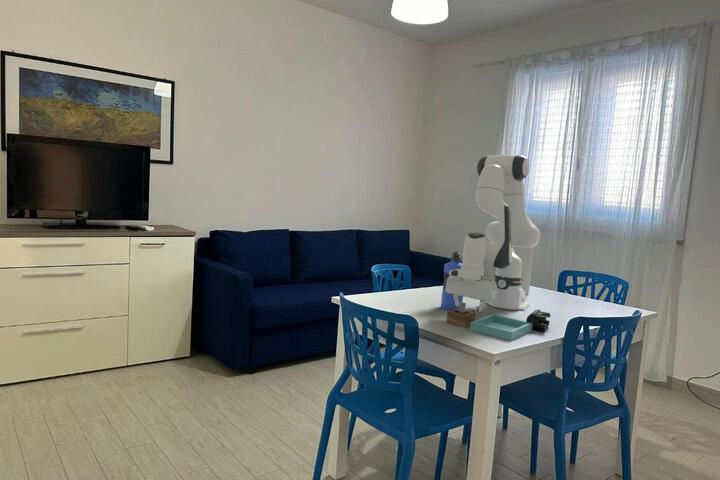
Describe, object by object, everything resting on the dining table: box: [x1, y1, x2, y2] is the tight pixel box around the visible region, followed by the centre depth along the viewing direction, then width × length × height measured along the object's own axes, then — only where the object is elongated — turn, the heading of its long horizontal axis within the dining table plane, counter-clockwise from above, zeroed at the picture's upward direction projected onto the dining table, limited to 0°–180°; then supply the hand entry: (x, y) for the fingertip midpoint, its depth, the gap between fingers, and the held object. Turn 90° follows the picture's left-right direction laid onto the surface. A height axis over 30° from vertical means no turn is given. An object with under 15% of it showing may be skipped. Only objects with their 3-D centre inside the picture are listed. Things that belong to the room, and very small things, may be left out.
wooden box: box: [446, 307, 477, 328], centre depth 205 cm, size 13×8×4 cm, turn 142°
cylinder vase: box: [513, 246, 535, 296], centre depth 277 cm, size 12×12×25 cm
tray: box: [469, 313, 533, 341], centre depth 197 cm, size 20×16×3 cm
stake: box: [458, 302, 466, 314], centre depth 203 cm, size 2×2×8 cm
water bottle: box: [440, 251, 464, 311], centre depth 227 cm, size 9×9×25 cm
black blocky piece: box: [525, 309, 551, 333], centre depth 204 cm, size 10×7×7 cm
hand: (467, 308), depth 207 cm, fingers open, 8 cm apart
